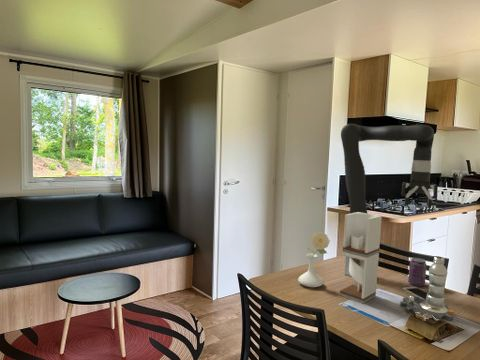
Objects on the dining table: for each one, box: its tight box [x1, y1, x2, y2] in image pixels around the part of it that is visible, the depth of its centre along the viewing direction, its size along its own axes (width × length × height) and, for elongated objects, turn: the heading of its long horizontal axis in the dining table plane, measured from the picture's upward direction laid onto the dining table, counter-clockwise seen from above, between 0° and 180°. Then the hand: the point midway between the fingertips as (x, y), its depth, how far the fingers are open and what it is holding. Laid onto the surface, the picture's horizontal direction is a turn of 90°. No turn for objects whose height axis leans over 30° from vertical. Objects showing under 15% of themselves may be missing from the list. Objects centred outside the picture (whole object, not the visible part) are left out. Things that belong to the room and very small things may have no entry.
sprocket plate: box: [399, 295, 455, 322], centre depth 139 cm, size 19×18×4 cm
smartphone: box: [402, 286, 428, 299], centre depth 155 cm, size 8×1×15 cm
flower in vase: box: [297, 231, 331, 288], centre depth 159 cm, size 13×11×25 cm
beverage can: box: [407, 257, 428, 287], centre depth 166 cm, size 7×7×12 cm
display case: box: [339, 212, 383, 304], centre depth 149 cm, size 11×11×35 cm
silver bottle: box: [426, 255, 448, 309], centre depth 137 cm, size 6×7×20 cm
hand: (417, 206), depth 157 cm, fingers open, 8 cm apart
